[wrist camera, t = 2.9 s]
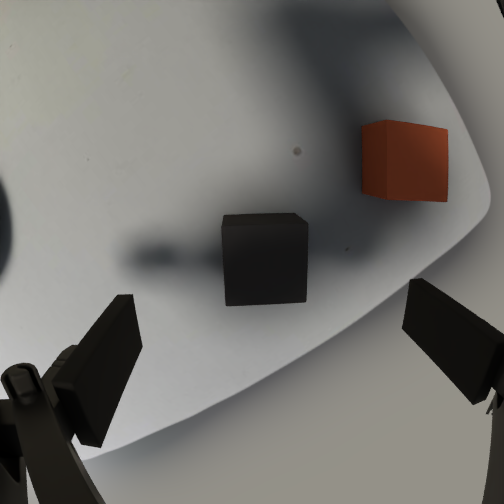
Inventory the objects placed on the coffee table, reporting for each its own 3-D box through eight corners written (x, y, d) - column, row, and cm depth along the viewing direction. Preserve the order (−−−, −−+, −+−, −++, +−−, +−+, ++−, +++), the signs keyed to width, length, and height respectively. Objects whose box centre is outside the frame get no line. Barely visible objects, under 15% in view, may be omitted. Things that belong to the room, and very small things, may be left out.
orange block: (417, 132, 23) (447, 129, 19) (417, 195, 24) (447, 202, 20) (361, 126, 23) (386, 119, 18) (361, 193, 24) (386, 200, 20)
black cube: (295, 212, 24) (308, 222, 20) (294, 280, 26) (306, 302, 21) (223, 214, 24) (221, 225, 20) (226, 283, 25) (225, 306, 21)
